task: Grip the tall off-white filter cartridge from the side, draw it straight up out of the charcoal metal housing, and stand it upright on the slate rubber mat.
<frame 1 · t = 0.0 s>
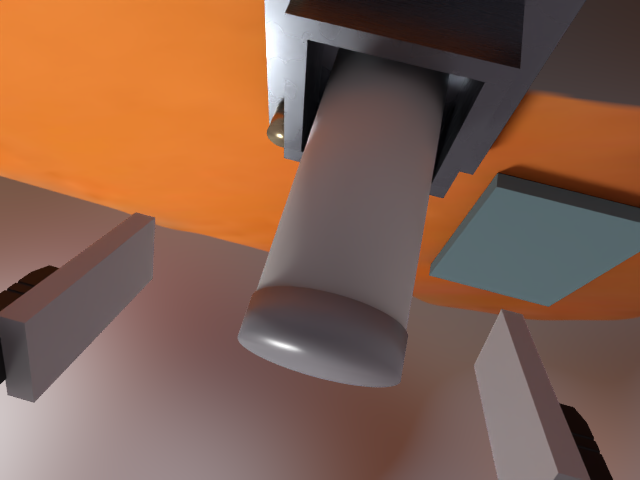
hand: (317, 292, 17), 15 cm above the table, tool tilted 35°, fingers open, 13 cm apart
housing: (397, 47, 25), on the table
cartridge: (392, 66, 24), point 1 cm above the table, touching housing
mat: (527, 245, 38), on the table
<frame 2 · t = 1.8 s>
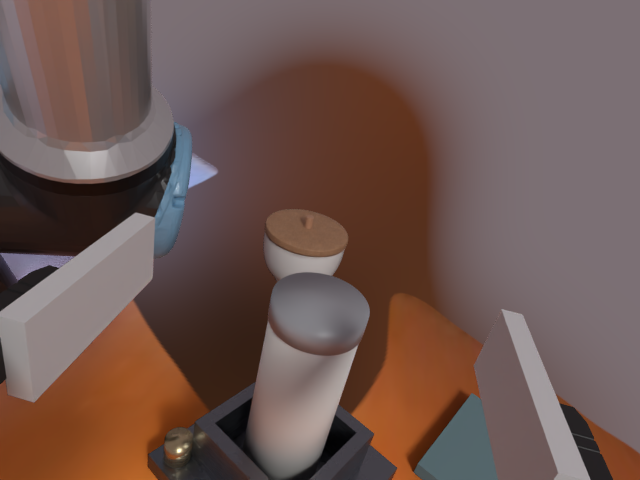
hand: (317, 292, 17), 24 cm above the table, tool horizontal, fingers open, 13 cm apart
lidded jar: (296, 278, 62), on the table
housing: (275, 473, 37), on the table
cartridge: (278, 461, 36), point 1 cm above the table, touching housing
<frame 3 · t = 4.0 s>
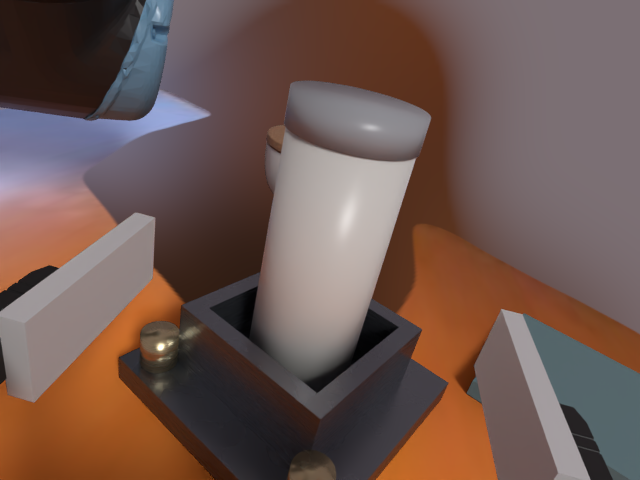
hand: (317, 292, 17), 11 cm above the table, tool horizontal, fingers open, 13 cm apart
lidded jar: (303, 205, 53), on the table
housing: (290, 389, 28), on the table
cartridge: (294, 371, 27), point 1 cm above the table, touching housing
mat: (606, 419, 31), on the table
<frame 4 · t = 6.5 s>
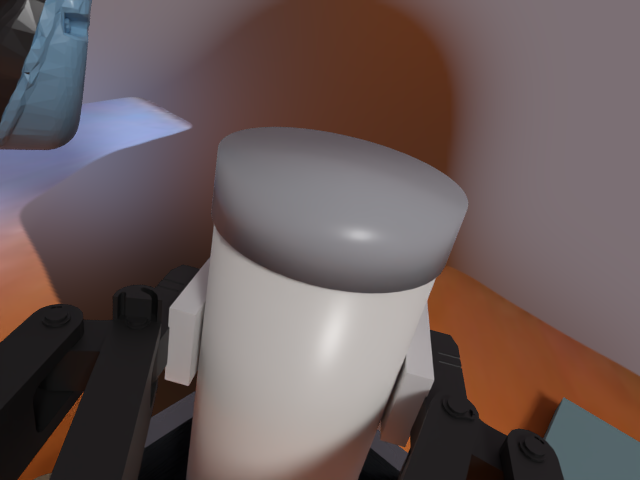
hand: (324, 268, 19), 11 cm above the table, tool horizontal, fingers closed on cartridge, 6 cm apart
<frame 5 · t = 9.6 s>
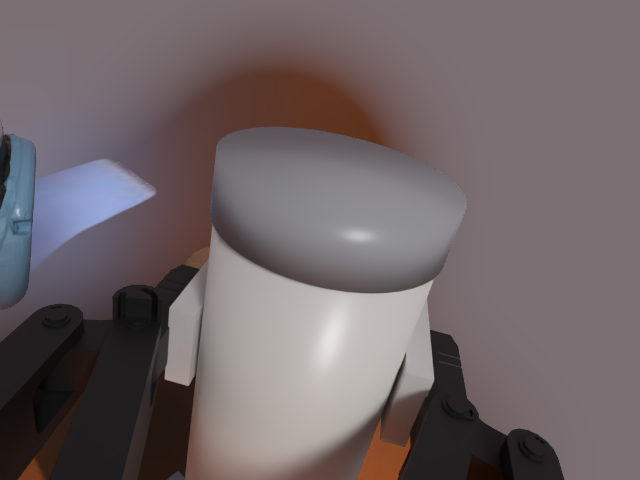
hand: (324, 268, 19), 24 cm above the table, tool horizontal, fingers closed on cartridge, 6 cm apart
lidded jar: (228, 329, 51), on the table
when the fingers open (12 cm above the table, at t = 13.1 s): cartridge drops 1 cm, resting on mat.
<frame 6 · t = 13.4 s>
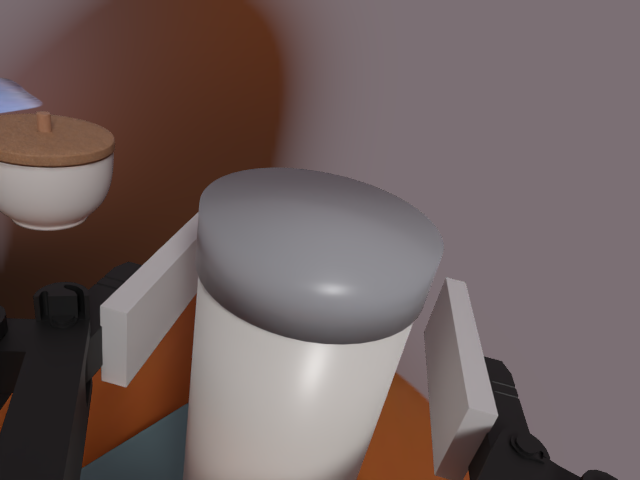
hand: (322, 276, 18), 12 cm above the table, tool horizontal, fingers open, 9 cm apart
lidded jar: (50, 216, 42), on the table
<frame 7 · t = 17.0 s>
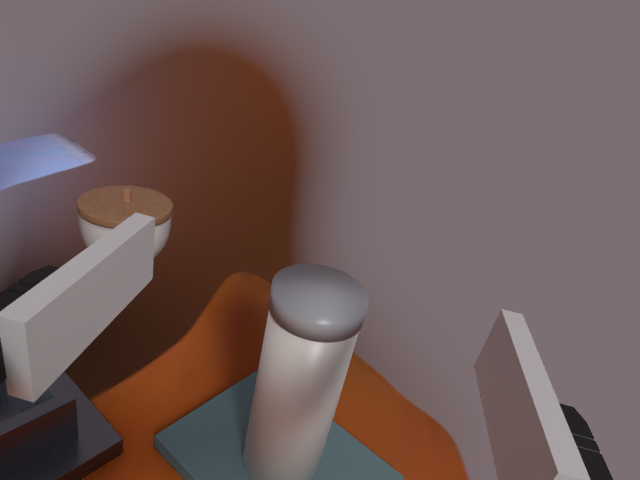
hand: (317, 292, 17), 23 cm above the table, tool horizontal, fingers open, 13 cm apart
lidded jar: (126, 258, 58), on the table
cartridge: (281, 457, 36), point 1 cm above the table, touching mat
mat: (278, 466, 36), on the table
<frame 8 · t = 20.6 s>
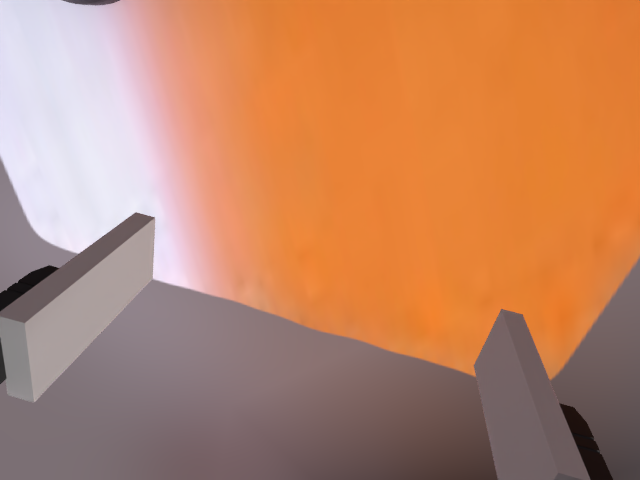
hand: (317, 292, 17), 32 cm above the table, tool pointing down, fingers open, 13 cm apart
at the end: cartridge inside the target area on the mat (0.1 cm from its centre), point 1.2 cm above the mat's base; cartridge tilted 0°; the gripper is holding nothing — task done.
